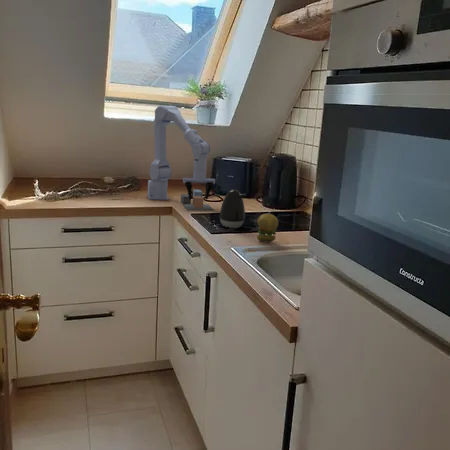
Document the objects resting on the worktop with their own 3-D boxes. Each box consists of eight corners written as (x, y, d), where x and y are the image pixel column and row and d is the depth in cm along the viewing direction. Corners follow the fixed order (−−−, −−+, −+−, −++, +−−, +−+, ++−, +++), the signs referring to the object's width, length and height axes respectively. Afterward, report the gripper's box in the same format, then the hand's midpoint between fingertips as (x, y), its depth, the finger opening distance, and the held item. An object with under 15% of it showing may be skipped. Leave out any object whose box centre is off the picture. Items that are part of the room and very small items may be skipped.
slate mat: (186, 210, 216) (186, 208, 216) (183, 205, 224) (183, 204, 224) (212, 210, 219) (213, 208, 219) (208, 205, 227) (208, 204, 227)
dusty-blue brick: (194, 199, 238) (195, 191, 237) (192, 197, 244) (193, 189, 243) (202, 200, 239) (202, 192, 238) (199, 197, 244) (200, 189, 243)
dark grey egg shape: (236, 232, 187) (239, 193, 183) (213, 226, 192) (216, 189, 188) (249, 227, 195) (252, 190, 191) (227, 222, 201) (230, 186, 197)
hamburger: (274, 240, 180) (277, 208, 177) (278, 246, 173) (281, 213, 170) (253, 239, 179) (256, 207, 176) (257, 245, 172) (260, 212, 169)
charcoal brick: (183, 205, 226) (183, 196, 224) (180, 202, 231) (181, 193, 230) (190, 205, 227) (191, 196, 226) (188, 202, 232) (188, 193, 231)
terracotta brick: (195, 207, 219) (195, 199, 218) (192, 204, 224) (192, 196, 223) (202, 207, 220) (203, 199, 219) (199, 204, 225) (200, 196, 224)
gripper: (185, 170, 212) (184, 200, 215) (217, 171, 216) (215, 200, 219) (182, 167, 218) (181, 196, 222) (214, 168, 222) (212, 197, 226)
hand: (198, 198), depth 221 cm, fingers open, 7 cm apart
